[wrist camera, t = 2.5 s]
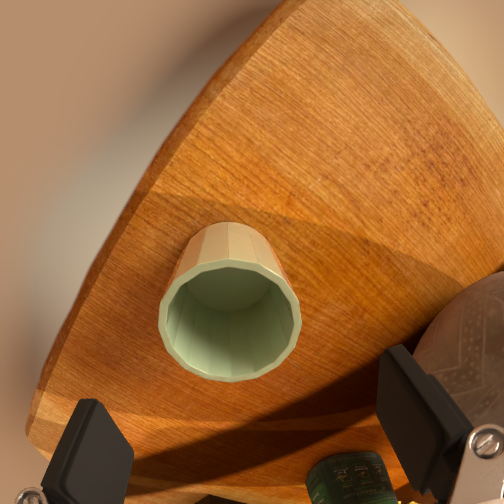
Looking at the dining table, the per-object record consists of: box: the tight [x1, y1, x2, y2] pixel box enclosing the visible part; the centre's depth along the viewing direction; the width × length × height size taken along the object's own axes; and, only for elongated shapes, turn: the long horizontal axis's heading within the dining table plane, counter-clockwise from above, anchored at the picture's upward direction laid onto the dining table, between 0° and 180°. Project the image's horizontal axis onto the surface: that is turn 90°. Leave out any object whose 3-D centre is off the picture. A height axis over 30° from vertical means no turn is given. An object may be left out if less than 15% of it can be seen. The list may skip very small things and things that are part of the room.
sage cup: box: [158, 222, 302, 383], centre depth 18 cm, size 7×7×8 cm
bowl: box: [412, 271, 504, 428], centre depth 19 cm, size 21×21×15 cm
